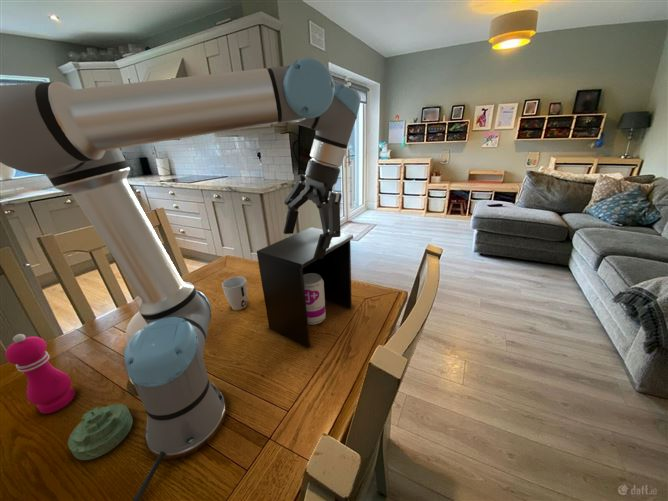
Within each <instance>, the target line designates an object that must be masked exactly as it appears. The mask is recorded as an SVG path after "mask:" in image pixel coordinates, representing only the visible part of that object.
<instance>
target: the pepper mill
mask: <svg viewBox="0 0 668 501" xmlns="http://www.w3.org/2000/svg"><path fill="white" fill-rule="evenodd" d="M12 341H13V342H12V343H11V344H10V345H9V346H8V347H7V348H6V350H5V353H4V356H5V359H6V361H7V362H8V363H10V364H12V365H15V368H16V369H17V371H18V372H20V373H23V374H24V375H25V376H26V379H27V387H26V397H27V400H28V402H29V403H30V404H32V405H36V408H37V409H38V411H39V412H40V413H41V414H45V415H47V414H51V413H55V412H57V411H60V410H61V409H63V408H64V407H66V406H68V405H69V403H71V402H72V401H73V400H74V398H75V396H76V392H75V390H74V388H73V386H71V385H72V378H70V376H69V375H68V374H67V373H66V372H65V371H63V370H60V369H59V368H56V367H54V366H53V365H52V364H51V362H50V354H49V352H48V351H47V345H48V344H47V342H46V341H45V340H44V339H43V338H41V337H39V336H34V335H33V336H32V335H31V336H26V335H25V334H23V333H18V334H16V335H14V336H13V338H12Z"/></svg>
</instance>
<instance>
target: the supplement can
mask: <svg viewBox="0 0 668 501" xmlns="http://www.w3.org/2000/svg"><path fill="white" fill-rule="evenodd" d="M303 280H304V290H305V301H306V311H307V322H308V325H318V324H320V323H322V322H323V321H324V320H325V319H326V316H327V312H326V299H325V294H324V281H323V279H322V278H321V276H320V275H319V274H316V273H308V274H304V275H303Z"/></svg>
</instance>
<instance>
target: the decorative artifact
mask: <svg viewBox="0 0 668 501" xmlns="http://www.w3.org/2000/svg"><path fill="white" fill-rule="evenodd" d="M133 422H134V420H133V416H132V414H131V412H130V410H129V408H128V406H126V405H124V404H122V403H117V404H115V403H114V404H110V405H107V406H103V407H100V406H99V405H97V406H96V407H94V408H92V409H90V410H89V411H87V412H85V413H84V414H83V415H82V418H81V421H80V422H79V423H78V424H77V425H76V426H75V427H74V428H73V430H72V431H71V433H70V435H69V437H68V439H67V446H68V449H69V450H70V452H71V453H72V455H73V456H74V457H75V458H76V459H77V460H80V461H90V460H94V459H97V458H99V457H102V456H103V455H105V454H107V453H109V452H110V451H112V450H113V449H115V448H116V447H117V446H118V445H119V444H120V443H121V442H122V441H123V440H124V439H125V438H126V437H127V435H128V434H129V433H130V431H131V429H132V426H133Z"/></svg>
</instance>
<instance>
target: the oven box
mask: <svg viewBox="0 0 668 501" xmlns="http://www.w3.org/2000/svg"><path fill="white" fill-rule="evenodd" d="M340 233H341V235H340V237H332V239H331V242H330V245H329V248H328V249H326V252H325V255H324V258H323V259H316V260H315V259H314V258H313V257H314V254H315V250H316V247H317V244H318V240H319V237H320V234H323V229H321V228H316V227H312V226H311V227H308V228H306V229H304V230H302V231H299V232H296V233H295V234H291V235H290V236H288V237H286V238H283V239H281V240H278V241H277V242H274V243H271V244H270V245H269V244H268V245H267V246H265V247H263V248H260V249H258V250H256V256H257V263H258V269H259V274H260V281H261V286H262V293H263V299H264V305H265V312H266V317H267V323H268V329H269V330H271V331H272V332H275V333H276V334H278V335H280V336H282V337H285V339H288V340H290V341H293V342H294V343H296V344H298V345H300V346H302V347H304V348H306V349H309V348H310V346H311V344H310V334H309V324H308V322H307V311H306V301H305V290H304V280H303V275H304V274H308V273H316V274H319V275H320V276H321V278H322V279H323V281H324V294H325V301H329V302H331V303H334V304H338V305H339V306H343V307H345V308H348V309H351V308H352V305H353V304H352V259H351V258H352V254H351V253H352V252H351V251H352V250H351V248H352V247H351V240H353V239H354V235H353V234H348V233H343V232H340Z"/></svg>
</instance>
